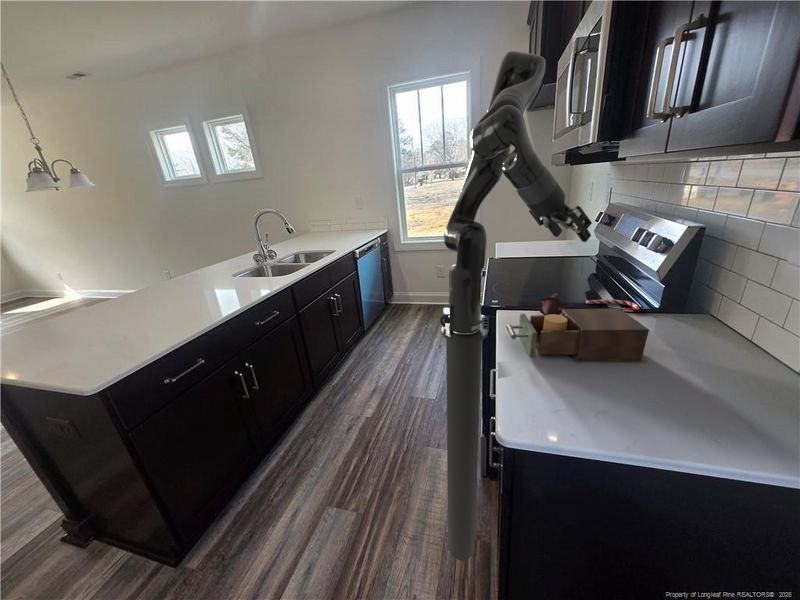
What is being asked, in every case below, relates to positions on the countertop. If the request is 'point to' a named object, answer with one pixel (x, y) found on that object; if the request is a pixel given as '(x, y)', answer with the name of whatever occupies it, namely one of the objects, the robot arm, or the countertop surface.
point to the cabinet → (607, 335)
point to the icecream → (550, 305)
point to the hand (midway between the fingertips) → (572, 236)
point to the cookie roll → (555, 323)
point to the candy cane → (616, 303)
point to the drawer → (545, 336)
